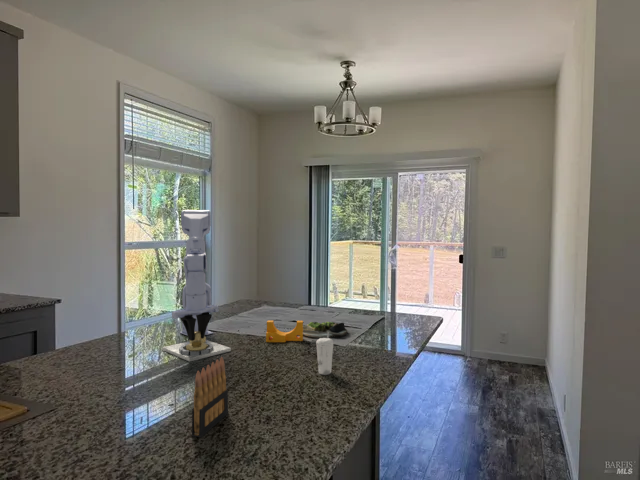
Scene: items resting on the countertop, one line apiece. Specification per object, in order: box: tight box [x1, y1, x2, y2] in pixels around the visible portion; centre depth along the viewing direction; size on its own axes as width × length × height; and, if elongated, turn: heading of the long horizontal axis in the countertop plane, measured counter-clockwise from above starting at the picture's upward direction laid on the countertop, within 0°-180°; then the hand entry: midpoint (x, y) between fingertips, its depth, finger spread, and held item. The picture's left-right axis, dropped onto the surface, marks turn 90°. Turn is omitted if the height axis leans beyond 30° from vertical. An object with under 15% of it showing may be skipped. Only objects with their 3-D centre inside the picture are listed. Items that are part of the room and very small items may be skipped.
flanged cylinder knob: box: [186, 331, 207, 351], centre depth 130 cm, size 6×6×6 cm
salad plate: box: [303, 321, 348, 339], centre depth 155 cm, size 19×18×5 cm
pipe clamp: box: [265, 319, 304, 343], centre depth 145 cm, size 12×4×6 cm, turn 88°
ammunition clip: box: [191, 356, 229, 438], centre depth 84 cm, size 11×2×12 cm, turn 164°
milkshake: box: [315, 332, 335, 376], centre depth 113 cm, size 4×5×10 cm
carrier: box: [162, 335, 232, 363], centre depth 133 cm, size 16×14×4 cm
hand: (196, 338), depth 130 cm, fingers closed on flanged cylinder knob, 3 cm apart
